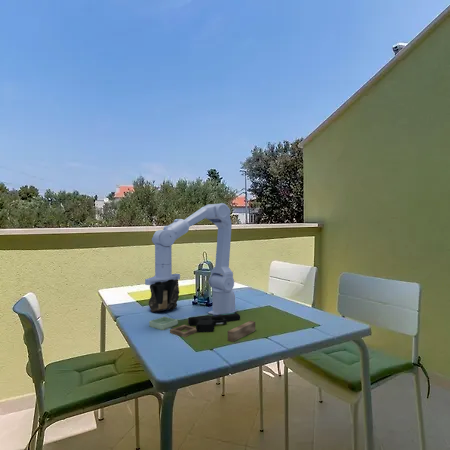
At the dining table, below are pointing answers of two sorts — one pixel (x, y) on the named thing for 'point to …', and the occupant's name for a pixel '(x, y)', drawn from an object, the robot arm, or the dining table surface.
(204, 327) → the handgun
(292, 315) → the dining table surface
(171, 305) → the rock
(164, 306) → the dowel
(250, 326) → the rail
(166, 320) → the tray
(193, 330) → the socket
